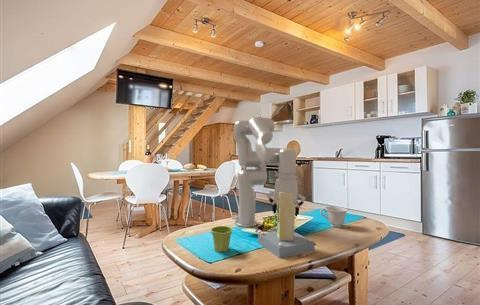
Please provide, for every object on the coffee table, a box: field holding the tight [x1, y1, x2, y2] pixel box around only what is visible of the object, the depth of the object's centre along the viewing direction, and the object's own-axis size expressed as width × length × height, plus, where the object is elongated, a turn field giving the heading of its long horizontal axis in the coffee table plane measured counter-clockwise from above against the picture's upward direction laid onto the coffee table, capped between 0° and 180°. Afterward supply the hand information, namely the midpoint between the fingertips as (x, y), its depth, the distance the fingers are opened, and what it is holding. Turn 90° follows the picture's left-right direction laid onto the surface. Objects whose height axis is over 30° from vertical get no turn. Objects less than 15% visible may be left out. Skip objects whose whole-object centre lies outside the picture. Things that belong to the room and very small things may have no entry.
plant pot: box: [210, 225, 234, 252], centre depth 111 cm, size 9×9×9 cm
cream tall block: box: [276, 192, 296, 241], centre depth 116 cm, size 8×7×21 cm
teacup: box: [319, 205, 349, 228], centre depth 149 cm, size 12×15×10 cm
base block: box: [257, 230, 315, 259], centre depth 116 cm, size 18×18×5 cm
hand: (285, 214), depth 116 cm, fingers open, 9 cm apart
